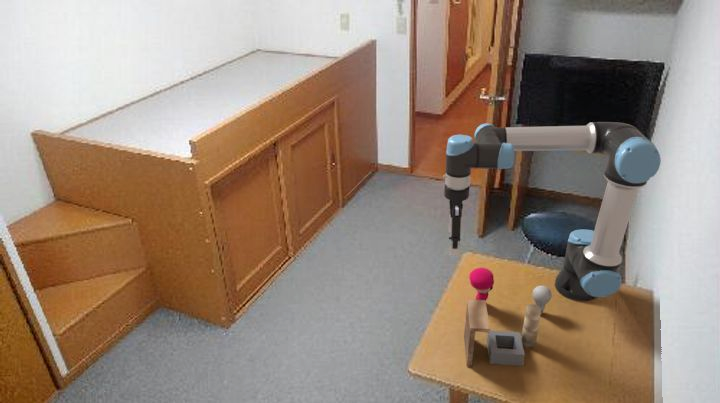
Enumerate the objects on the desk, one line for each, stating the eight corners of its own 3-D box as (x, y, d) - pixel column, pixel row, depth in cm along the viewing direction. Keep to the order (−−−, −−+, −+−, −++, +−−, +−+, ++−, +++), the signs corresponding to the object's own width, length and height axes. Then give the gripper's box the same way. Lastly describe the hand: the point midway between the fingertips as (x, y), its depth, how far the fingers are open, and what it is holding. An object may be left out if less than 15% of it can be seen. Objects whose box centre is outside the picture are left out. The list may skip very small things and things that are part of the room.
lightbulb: (548, 320, 183) (553, 294, 177) (530, 317, 184) (534, 292, 179) (547, 308, 188) (551, 282, 183) (528, 306, 189) (533, 280, 184)
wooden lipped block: (481, 337, 176) (485, 300, 169) (485, 367, 165) (489, 329, 158) (464, 336, 177) (467, 299, 169) (466, 366, 166) (470, 327, 158)
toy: (493, 314, 186) (497, 278, 179) (468, 314, 186) (472, 279, 179) (488, 298, 193) (492, 263, 186) (464, 298, 194) (468, 264, 186)
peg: (533, 338, 175) (539, 304, 168) (536, 348, 171) (542, 314, 165) (519, 338, 176) (525, 303, 169) (521, 347, 172) (527, 313, 165)
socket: (518, 342, 174) (519, 332, 172) (522, 365, 165) (524, 354, 163) (486, 341, 175) (488, 330, 173) (489, 363, 166) (491, 352, 164)
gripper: (444, 167, 177) (441, 223, 187) (445, 204, 156) (442, 265, 166) (467, 167, 176) (463, 223, 187) (472, 205, 155) (467, 266, 165)
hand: (453, 243), depth 176 cm, fingers open, 13 cm apart
